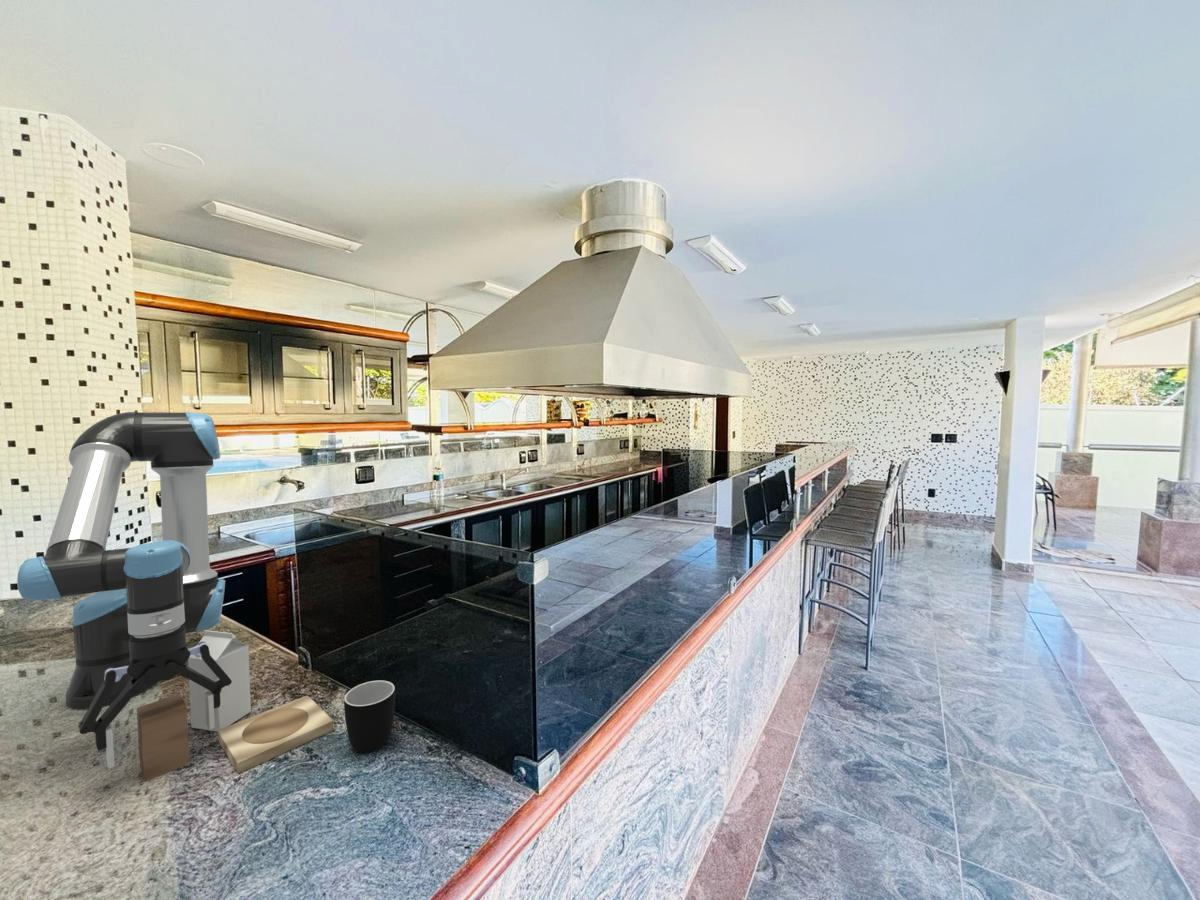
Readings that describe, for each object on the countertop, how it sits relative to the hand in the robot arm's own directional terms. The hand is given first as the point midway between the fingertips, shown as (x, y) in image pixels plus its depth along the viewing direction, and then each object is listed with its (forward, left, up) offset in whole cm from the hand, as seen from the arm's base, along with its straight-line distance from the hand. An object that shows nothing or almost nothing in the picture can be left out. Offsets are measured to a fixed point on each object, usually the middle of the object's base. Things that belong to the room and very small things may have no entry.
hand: (163, 743), depth 88 cm
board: (+6, +16, -4) cm, 18 cm away
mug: (+21, +27, -4) cm, 34 cm away
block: (0, 0, -4) cm, 4 cm away
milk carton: (-8, +10, -4) cm, 14 cm away
